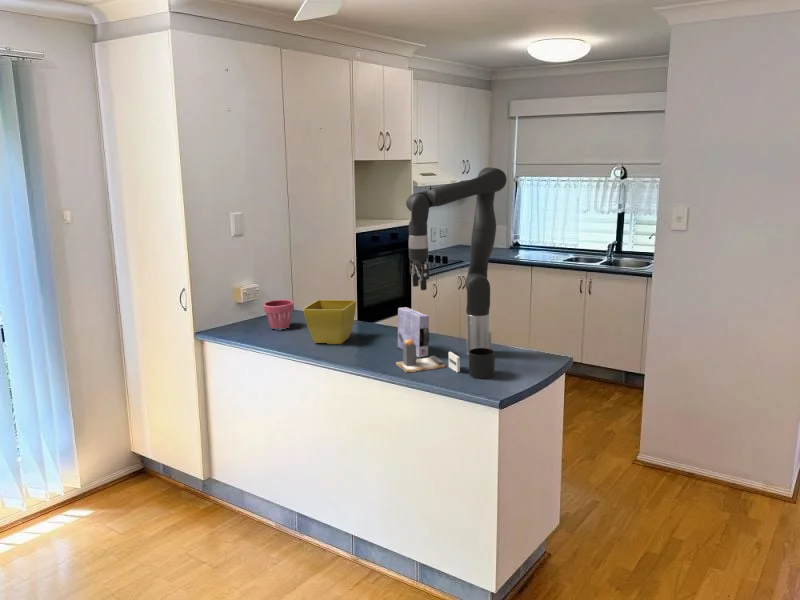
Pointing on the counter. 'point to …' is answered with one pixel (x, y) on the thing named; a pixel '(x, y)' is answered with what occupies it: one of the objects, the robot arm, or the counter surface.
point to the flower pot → (330, 320)
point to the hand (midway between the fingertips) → (419, 288)
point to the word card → (454, 362)
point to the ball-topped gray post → (409, 353)
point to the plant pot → (279, 313)
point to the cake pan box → (413, 330)
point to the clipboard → (422, 364)
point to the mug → (481, 363)
